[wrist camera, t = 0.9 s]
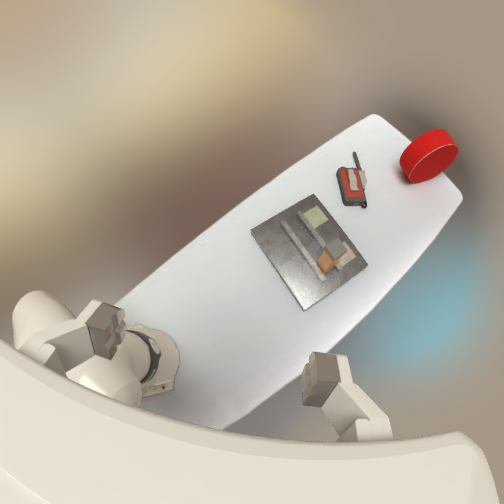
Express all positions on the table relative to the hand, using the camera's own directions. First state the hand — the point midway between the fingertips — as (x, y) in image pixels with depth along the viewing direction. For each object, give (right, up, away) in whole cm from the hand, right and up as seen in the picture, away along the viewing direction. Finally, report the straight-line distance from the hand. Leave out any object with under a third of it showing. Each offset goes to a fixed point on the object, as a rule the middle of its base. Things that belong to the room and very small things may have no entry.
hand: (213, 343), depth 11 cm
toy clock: (+56, +29, +66) cm, 91 cm away
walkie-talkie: (+31, +25, +67) cm, 78 cm away
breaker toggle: (+19, 0, +56) cm, 59 cm away
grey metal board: (+16, +4, +60) cm, 62 cm away
